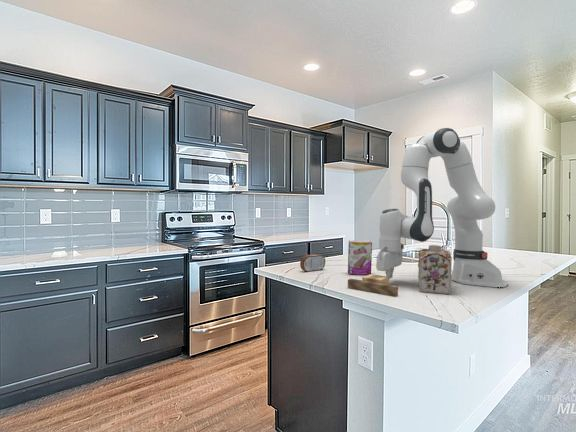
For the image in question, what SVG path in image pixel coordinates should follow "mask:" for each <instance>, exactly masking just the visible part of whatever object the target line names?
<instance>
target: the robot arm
mask: <svg viewBox="0 0 576 432" xmlns="http://www.w3.org/2000/svg"><path fill="white" fill-rule="evenodd" d="M437 157H441V159H442V161H443V164H444V167H445V172H446V176H447V179H448V183H449V186H450V187H451V189H453V190H454V192H455V193H456V194H457V196H454V197H453V198H451V199H450V200H449V201H448V202H447V205H446V209H447V212H448V214H449V215H450V217H451V220H452V222H453V229H454V249H453V251H452V252H453V257H452V258H453V259H452V260H453V266H452V270H451V281H454V282H456V283H459V284H462V285H469V286H477V287H487V288H488V287H490V288H497V287H499V288H500V287H503V288H506V287H508V286H507V285H508V281H506V280H505V279H504V280H503V276H502V272H501V270H500V268H499V267H498V266H496V265H495V264H494V263H492V262H491V261H490V260H488V252H487V251H485V250H483V241H484V240H483V239H484V238H483V237H484V234H483V231H482V230H481V229H480V227H479V225H478V221H481V220H485V219H488V218H490V217H492V216H493V215H494V213H495V212H496V202H495V201H494V199H493V198H491V197H490V196H489V195H488V194H487V193H486V192H485V190H484V189H483V187H482V186H481V184H480V182H479V180H478V178H477V173H476V170H475V167H474V163H473V161H472V160H473V159H472V156H471V153H470V151H469V148H468V147H467V146H466V144H465V143H464V142H463V141H461V139H460V136H459V135H458V133H457V132H456V131H455V129H453V128H450V127H443V128H439V129H437V130H434V131H431V132H429V133H428V134H425V135H423V136H422V137H420V138H419V139H418V140H417V141H416V142H415V143H412V144H410V145H408V146H407V148H406V150H405V152H404V156H403V160H402V165H401V170H400V180H401V182H402V184H403V186H405V187H406V188H407V189H409V190H411V191H412V192H414V194H415V197H416V215H415V216H409V215H406V214H405V213H403V212H402V211H400V209H399V208H388V209H385V210H383V211H382V212H381V213H380V216H379V234H380V235H379V241H378V244H379V245H378V248H379V249H378V250H379V252H378V253H377V254H376V265H375V266H376V267H375V268H376V270H377V271H378V272H379V271H380V272H385V276H387V277H389V280H390V279H392V278H393V275H394V271H395V268H396V267H399V266H401V265H402V262H403V253H404V252H403V250H404V247H405V244H404V243H402V241H401V238H404V239H407V240H414V241H417V242H421V243H424V242H427V241H428V240H430V238H431V237H432V236H433V234H434V230H435V226H434V221H433V188H432V187H433V186H432V183H431V181H430V180H429V167H430V160H431V159H432V158H437ZM499 288H498V289H499ZM500 289H501V288H500Z"/></svg>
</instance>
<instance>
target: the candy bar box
mask: <svg viewBox="0 0 576 432" xmlns="http://www.w3.org/2000/svg"><path fill="white" fill-rule="evenodd" d="M347 248H348V250H347V251H348V255H347V274H348V275H355V276H367V275H370V274H372V260H373V258H372V256H373V255H372V253H373V242H372V241H371V240H348V247H347Z"/></svg>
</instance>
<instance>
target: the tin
mask: <svg viewBox="0 0 576 432" xmlns="http://www.w3.org/2000/svg"><path fill="white" fill-rule="evenodd" d="M299 264H300V265H299V266H300V268H301V270H302V271H304V272H307V273H308V272H310V271H311V272H317V271H322V270H323V269H325V267H326V257H325V256H324V255H322V254H319V253H314V254H305V255H304V256H303V257H302V258H301V259H300V262H299Z"/></svg>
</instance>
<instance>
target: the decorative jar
mask: <svg viewBox="0 0 576 432" xmlns="http://www.w3.org/2000/svg"><path fill="white" fill-rule="evenodd" d="M452 258H453V257H452V253H451V252H450V251H449V250H445V249H442V245H437V244H432V245H428V248H422V249H419V252H418V264H417V267H418V273H417V274H418V276H417V277H418V278H417V279H418V291H419V293H428V294H429V293H430V294H440V295H451V292H452V280H451V275H452V271H453V266H452V261H453V259H452Z"/></svg>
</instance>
